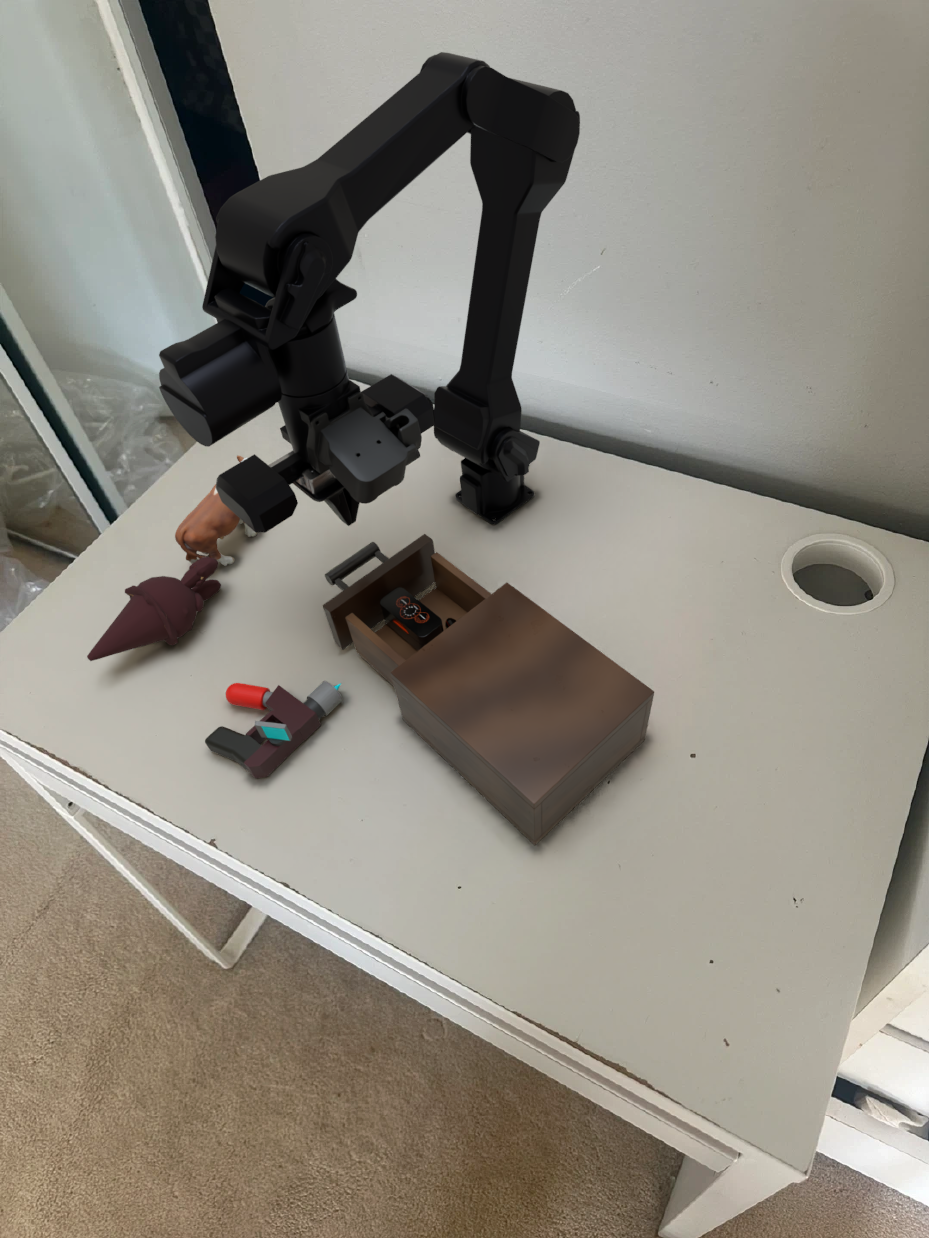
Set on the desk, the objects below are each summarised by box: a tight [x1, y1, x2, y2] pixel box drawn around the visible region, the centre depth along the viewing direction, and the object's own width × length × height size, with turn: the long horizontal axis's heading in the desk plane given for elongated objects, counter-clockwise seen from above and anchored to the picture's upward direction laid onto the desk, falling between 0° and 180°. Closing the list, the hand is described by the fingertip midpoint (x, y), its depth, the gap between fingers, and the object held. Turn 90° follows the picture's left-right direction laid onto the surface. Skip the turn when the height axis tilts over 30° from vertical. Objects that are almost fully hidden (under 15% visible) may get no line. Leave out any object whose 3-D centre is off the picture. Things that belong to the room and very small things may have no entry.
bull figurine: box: [174, 455, 258, 567], centre depth 84 cm, size 4×13×8 cm, turn 148°
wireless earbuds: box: [380, 587, 456, 650], centre depth 74 cm, size 5×7×3 cm, turn 43°
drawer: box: [321, 533, 492, 687], centre depth 74 cm, size 20×12×6 cm, turn 43°
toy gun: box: [204, 680, 344, 779], centre depth 71 cm, size 10×12×5 cm
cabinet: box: [390, 582, 655, 846], centre depth 67 cm, size 17×14×8 cm
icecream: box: [86, 557, 222, 662], centre depth 77 cm, size 7×7×15 cm
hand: (348, 522), depth 72 cm, fingers closed
